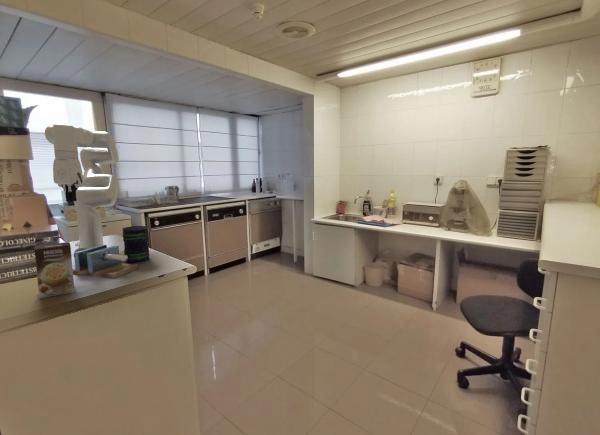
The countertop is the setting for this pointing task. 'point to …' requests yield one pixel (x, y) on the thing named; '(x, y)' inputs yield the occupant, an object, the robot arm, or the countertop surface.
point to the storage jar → (136, 244)
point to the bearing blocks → (94, 258)
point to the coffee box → (54, 269)
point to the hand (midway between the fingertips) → (71, 201)
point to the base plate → (109, 270)
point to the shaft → (109, 256)
